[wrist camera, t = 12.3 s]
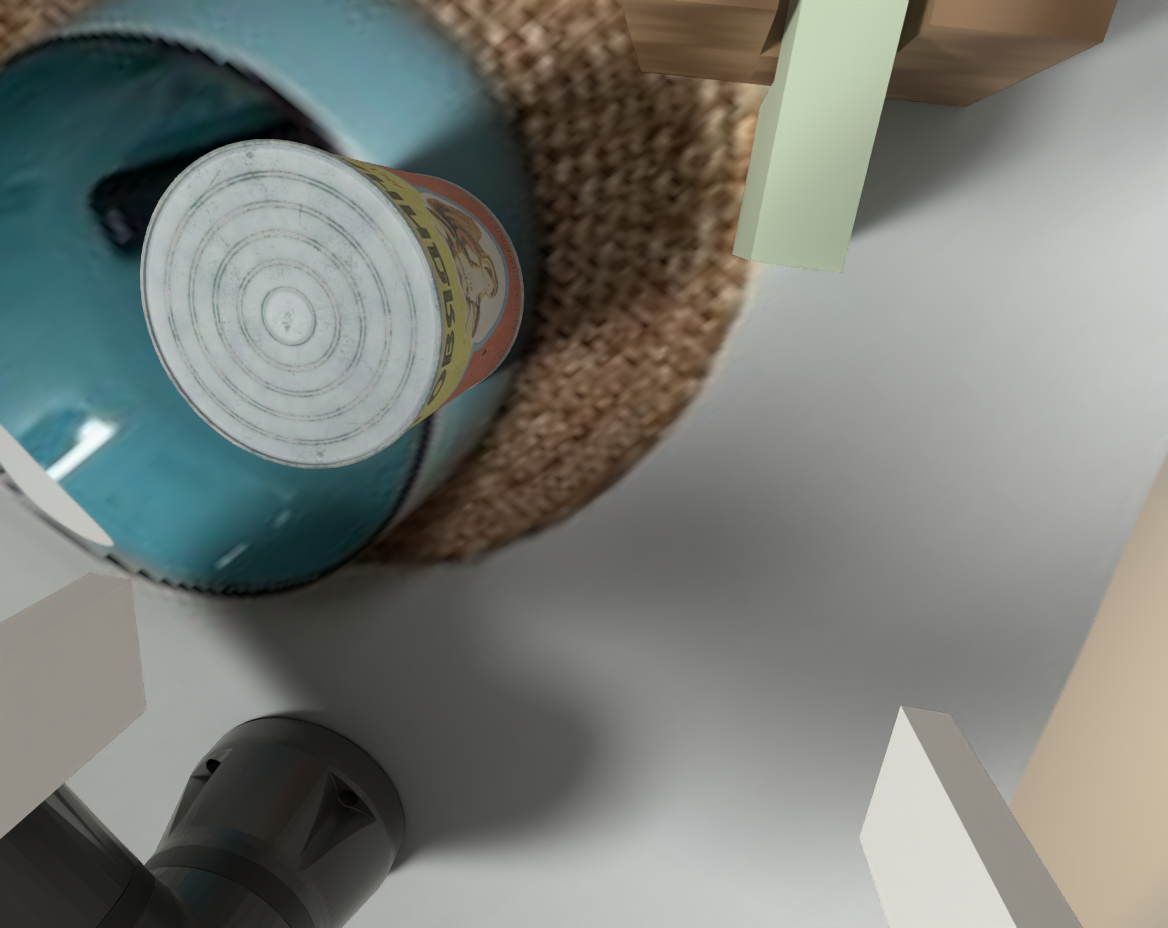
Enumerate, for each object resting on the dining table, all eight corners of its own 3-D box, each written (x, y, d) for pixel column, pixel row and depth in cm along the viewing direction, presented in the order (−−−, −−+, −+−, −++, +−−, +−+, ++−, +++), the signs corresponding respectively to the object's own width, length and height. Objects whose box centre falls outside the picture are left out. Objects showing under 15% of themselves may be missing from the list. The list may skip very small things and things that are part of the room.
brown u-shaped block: (640, 71, 30) (618, -6, 20) (648, 20, 29) (628, -85, 20) (965, 106, 28) (1103, 41, 19) (980, 53, 28) (1130, -42, 18)
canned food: (555, 361, 35) (490, 421, 23) (369, 422, 37) (231, 501, 26) (475, 137, 32) (358, 81, 20) (280, 220, 34) (82, 211, 23)
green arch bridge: (732, 254, 32) (750, 260, 22) (812, -168, 26) (881, -396, 17) (796, 262, 31) (841, 273, 22) (890, -163, 26) (1005, -391, 16)
